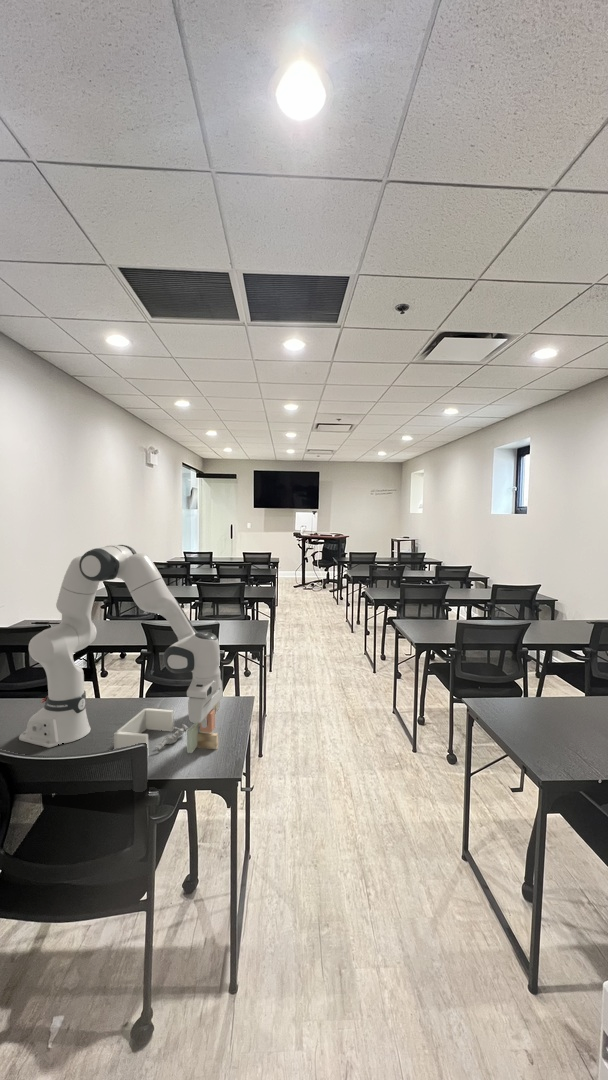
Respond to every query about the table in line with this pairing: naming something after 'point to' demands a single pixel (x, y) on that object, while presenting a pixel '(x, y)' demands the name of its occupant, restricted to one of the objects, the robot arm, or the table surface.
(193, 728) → the t-shaped crossbar
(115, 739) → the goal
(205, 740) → the tan wooden block
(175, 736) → the soldier figure
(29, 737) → the robot arm
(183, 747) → the table surface
